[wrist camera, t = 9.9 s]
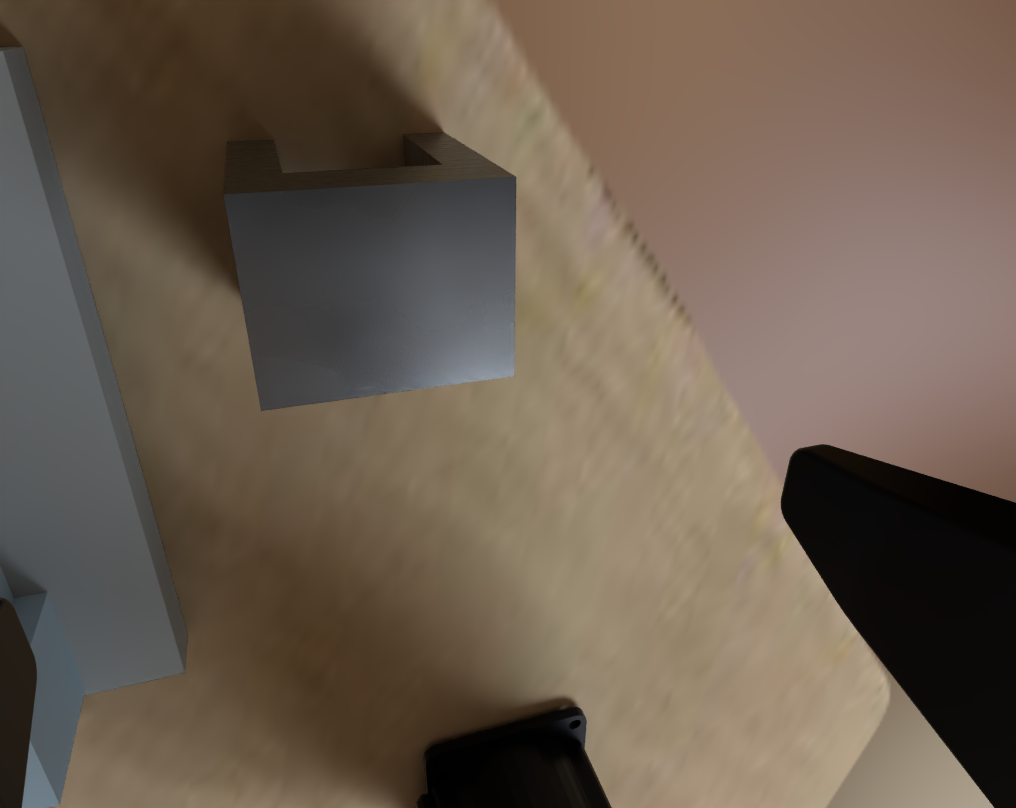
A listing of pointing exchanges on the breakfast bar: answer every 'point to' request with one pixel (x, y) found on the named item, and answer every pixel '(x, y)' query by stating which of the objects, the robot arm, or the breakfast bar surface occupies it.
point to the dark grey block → (373, 271)
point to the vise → (67, 463)
